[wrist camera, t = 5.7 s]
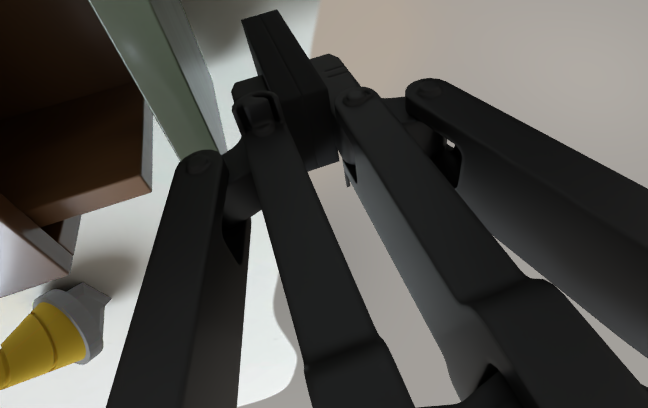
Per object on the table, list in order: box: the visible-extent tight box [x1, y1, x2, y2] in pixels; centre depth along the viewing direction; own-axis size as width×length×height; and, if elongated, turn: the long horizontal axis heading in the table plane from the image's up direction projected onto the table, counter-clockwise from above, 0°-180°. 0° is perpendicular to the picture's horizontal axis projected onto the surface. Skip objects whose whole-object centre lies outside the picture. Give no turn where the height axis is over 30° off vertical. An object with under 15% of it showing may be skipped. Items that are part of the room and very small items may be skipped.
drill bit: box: [0, 282, 111, 390], centre depth 24 cm, size 5×5×10 cm
